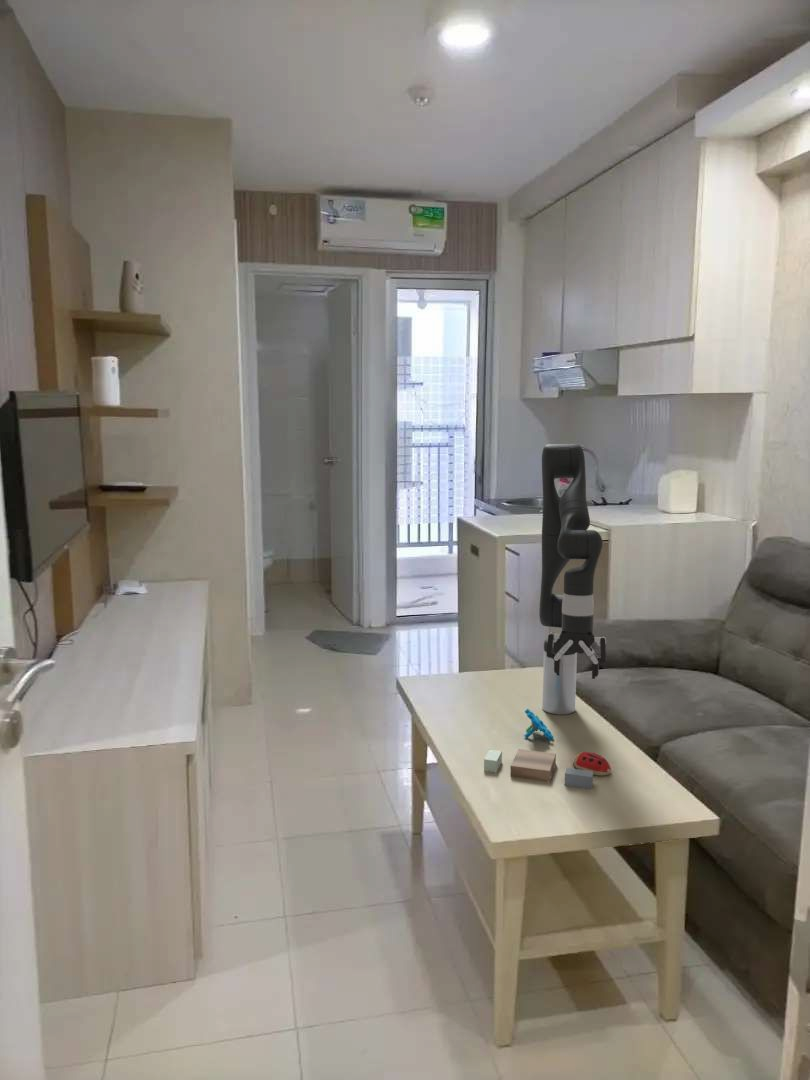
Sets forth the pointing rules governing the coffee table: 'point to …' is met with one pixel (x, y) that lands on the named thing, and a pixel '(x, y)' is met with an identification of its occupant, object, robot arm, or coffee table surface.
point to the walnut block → (533, 765)
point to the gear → (537, 725)
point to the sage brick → (492, 760)
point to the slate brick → (579, 778)
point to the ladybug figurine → (592, 763)
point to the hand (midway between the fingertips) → (575, 676)
